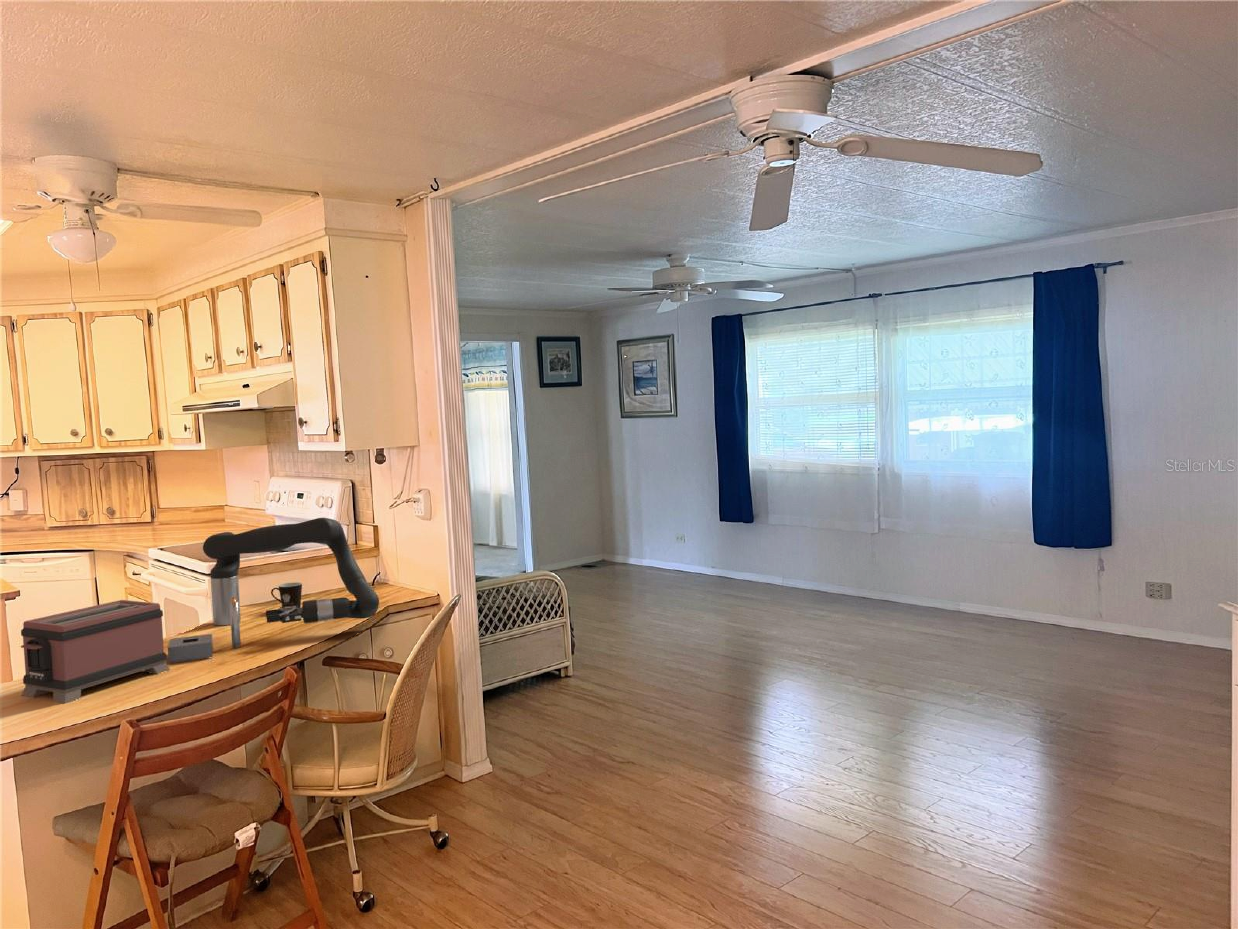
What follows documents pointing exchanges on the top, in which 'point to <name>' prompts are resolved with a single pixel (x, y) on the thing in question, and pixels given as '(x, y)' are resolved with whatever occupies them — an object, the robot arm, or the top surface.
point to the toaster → (91, 647)
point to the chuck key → (235, 623)
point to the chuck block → (190, 648)
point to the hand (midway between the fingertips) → (266, 616)
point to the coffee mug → (289, 594)
